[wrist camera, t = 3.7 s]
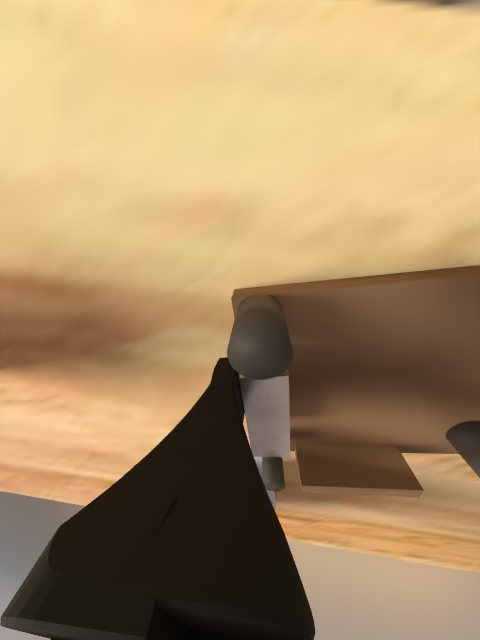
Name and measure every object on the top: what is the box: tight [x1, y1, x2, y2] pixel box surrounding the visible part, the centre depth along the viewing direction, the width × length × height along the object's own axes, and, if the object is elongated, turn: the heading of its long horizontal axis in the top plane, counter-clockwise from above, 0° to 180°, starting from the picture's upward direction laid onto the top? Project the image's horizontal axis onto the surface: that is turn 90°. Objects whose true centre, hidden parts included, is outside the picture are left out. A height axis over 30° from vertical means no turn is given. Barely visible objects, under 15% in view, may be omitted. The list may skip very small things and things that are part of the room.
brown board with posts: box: [227, 265, 480, 497], centre depth 10 cm, size 12×14×4 cm
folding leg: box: [239, 370, 290, 458], centre depth 10 cm, size 6×2×2 cm, turn 8°
